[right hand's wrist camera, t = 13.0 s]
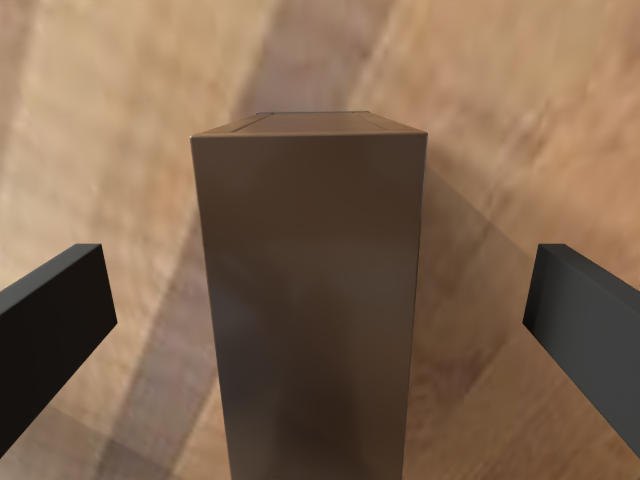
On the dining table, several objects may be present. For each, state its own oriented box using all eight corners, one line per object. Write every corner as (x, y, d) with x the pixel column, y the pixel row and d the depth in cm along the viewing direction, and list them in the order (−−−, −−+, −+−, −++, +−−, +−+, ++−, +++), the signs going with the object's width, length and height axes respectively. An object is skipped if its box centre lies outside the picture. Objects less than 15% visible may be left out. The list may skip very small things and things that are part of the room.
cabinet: (360, 389, 25) (392, 605, 15) (276, 390, 25) (246, 607, 15) (367, 111, 20) (429, 131, 9) (258, 112, 20) (188, 135, 9)
